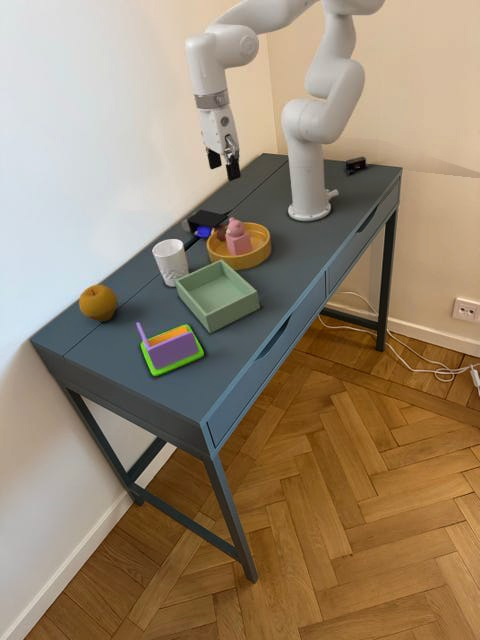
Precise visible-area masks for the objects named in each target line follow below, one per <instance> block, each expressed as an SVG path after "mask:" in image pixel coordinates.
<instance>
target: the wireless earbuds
mask: <svg viewBox="0 0 480 640" xmlns="http://www.w3.org/2000/svg"><path fill="white" fill-rule="evenodd" d="M366 167H367V158H366V157H365V156H359V157H355V158H351V159H347V160H345V171H346V172H347V175H352V174H354V173H355V172H357V171H360V170H365V169H366Z"/></svg>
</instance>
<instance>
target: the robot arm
mask: <svg viewBox="0 0 480 640" xmlns="http://www.w3.org/2000/svg"><path fill="white" fill-rule="evenodd" d="M319 1H321V6H322V12H323V17H324V18H323V19H324V33H323V36H322V39H321V41H320V44H319V45H318V48H317V49H316V52H315V54H314V57H312V61H311V62H310V64H309V67H308V69H307V72H306V74H305V77H304V82H303V85H304V90H305V91H306V93H307V94H308V95H310V96H312V97H314V98H316V99H317V98H318V99H322V100H325V101H320V100H316V99H312V98H306V97H304V98H303V97H299V98H293V99H292V100H290V101H288V102H287V103H286V104H285V106H283V109H282V112H281V117H280V122H281V123H280V124H281V129H282V132H283V136H284V139H285V143H286V148H287V155H288V156H287V157H288V168H289V177H290V187H291V199H292V200H291V201H292V203H291V204H290V205H288V208H287V213H288V215H289V217H290V218H292V219H294V220H295V221H301V222H312V221H317V220H320V219H323V218H325V217H326V216H327V215H329V214H330V213H331V211H332V205H331V203H330V201H331V199H333V198H335V197H337V196H339V191H338V189H333V190H331V191H330V189H328V188H327V189H326V188H325V187H326V186H325V185H326V184H325V183H326V182H325V167H324V166H325V163H324V162H325V161H324V149H323V145H332V144H334V143H335V142H337V140H338V139H339V138H340V137H341V136H342V134H343V132H344V131H345V129H346V127H347V125H348V123H349V121H350V119H351V116H352V115H353V113H354V111H355V109H356V107H357V105H358V103H359V100H360V98H361V97H362V95H363V92H364V89H365V83H366V72H365V69H364V66H363V64H362V63H360V62H359V61H358V60H355V59H352V56H353V53H354V50H355V49H356V44H357V32H356V28H355V24H354V19H353V16H371V15H374V14H375V13H377V12H379V11H380V10H381V9H382V8H383V6H384V4H385V2H386V0H242V1H240V2H238V3H236V4H235V5H233V6H231V7H230V8H229V9H227V10H226V11H224V12H223V13H222V14H220V15H219V16H218V17H217V18H216V19H214V20H213V21H212V22H210V23H209V25H208V26H207V27H206V28H205V30H204V32H203V33H199V34H193V35H191V36H189V37H188V38H186V40H185V42H184V53H185V57H186V62H187V63H186V64H187V68H188V72H189V76H190V82H191V87H192V92H193V97H194V101H195V108H196V111H198V115H199V124H200V129H201V132H200V133H201V136H202V139H203V144H204V145H205V152H206V153H207V154H206V155H207V156H206V157H207V161H208V165H209V169H210V170H215V169H218V168H221V167H222V165H223V163H222V157H223V158H224V160H225V162H226V164H225V171H226V175H227V180H228V181H229V182H232V181H235V180H237V179H240V178H241V177H242V175H241V169H240V156H241V155H240V151H241V150H240V142H239V138H238V132H237V127H236V122H235V118H234V114H233V112H232V108H231V106H230V104H231V102H230V96H229V90H228V89H229V88H228V82H227V75H226V70H227V69H232V68H240V67H244V66H247V65H249V64H250V63H252V62H253V61H254V60H255V58H256V57H257V55H258V53H259V49H260V41H259V37H258V36H259V35H263V34H267V33H272V32H273V33H274V32H277V31H279V30H281V29H285V28H286V27H289V26H290V25H291V24H292V23H293V22H295V21H296V20H297V19H298V18H299V17H300V16H301V15H303V14H304V13H305V12H307V10H308V9H310V8H311V7H313V6H314V5H315V4H316V3H317V2H319ZM229 155H230V157H229ZM221 156H222V157H221Z"/></svg>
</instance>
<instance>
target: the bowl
mask: <svg viewBox="0 0 480 640" xmlns="http://www.w3.org/2000/svg"><path fill="white" fill-rule="evenodd" d="M242 223H243V225H244V230H245V231H246V232H247V233H249V235H250V241H251V247H252V252H250V253H247V254H244V255H238V256H233V255H232V254H231V253H229V251H228V246H227V241H226V240H225V241H220V240H219V239H217V233H218V231H215V232H214V233H213V234H212V235H211V236H210V237H209V238H208V239H207V240H206V250H207V253H208V257H209V260H210V264H212V263H214V262H217V261H219V260H221V259H222V260H223V261H224V262H225V263H226V264H228V265H229V266H230V267H231V268H232V269H233V270H234V271H240V270H241V271H242V270H247V269H250V268H253V267H256V266H258V265H260V264H262V263H263V262H264V261H265V260H267V259H268V258H269V257H270V255H271V253H272V247H273V246H272V240H271V239H272V238H271V232H270V231H269V229H268V228H267V227H266V226H265V225H263V224H259V223H257V222H256V223H255V222H242ZM224 226H225V227H224V228H226V229H228V225H224Z"/></svg>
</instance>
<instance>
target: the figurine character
mask: <svg viewBox="0 0 480 640" xmlns="http://www.w3.org/2000/svg"><path fill="white" fill-rule="evenodd" d="M228 219H230V217H229V215H227V214H222V213H217V212H213V211H210V210H204V209H200V210H198V211H195V212H194V213H193V214H191V216H190V217H189V218H186V219H184V220H182V221H181V227H182V229H183V230H184V231H186V232H189V233H190V234H191V235H192V236H195V237H199V238H208V239H209V237H210V236H211V235H212V234H213V233H214V232H215V231H218V233H217V239H219V240H220V241H225V240H226V236H225V234H227V233H226V231H227V229H226V228H224V227H225V226H226V225H224V224H223V222H225V221H226V220H228Z"/></svg>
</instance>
